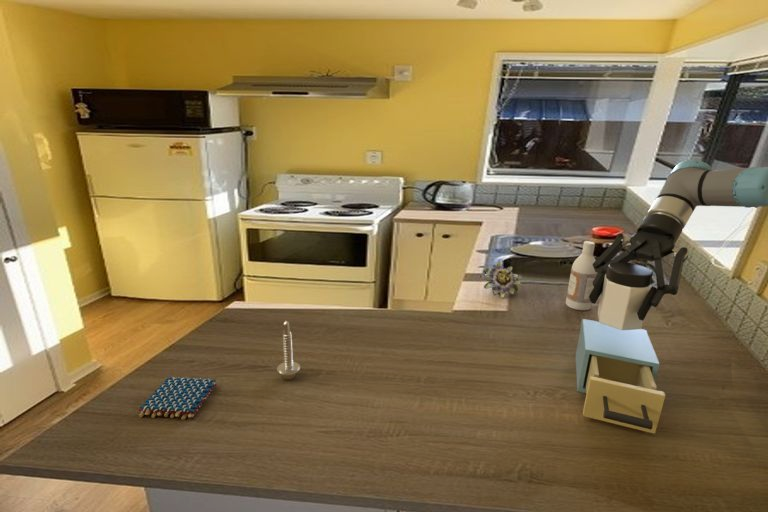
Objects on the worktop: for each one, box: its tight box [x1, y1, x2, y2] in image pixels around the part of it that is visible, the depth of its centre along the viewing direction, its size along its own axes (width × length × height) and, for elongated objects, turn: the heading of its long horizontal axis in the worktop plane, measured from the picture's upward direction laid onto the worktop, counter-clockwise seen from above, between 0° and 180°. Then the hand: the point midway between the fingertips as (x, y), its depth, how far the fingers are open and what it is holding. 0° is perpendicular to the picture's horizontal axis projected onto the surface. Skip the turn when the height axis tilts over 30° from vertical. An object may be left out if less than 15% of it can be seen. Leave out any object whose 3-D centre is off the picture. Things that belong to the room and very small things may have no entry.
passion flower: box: [482, 261, 522, 299], centre depth 135 cm, size 11×11×12 cm
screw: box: [276, 320, 302, 381], centre depth 87 cm, size 13×5×5 cm
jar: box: [596, 262, 654, 330], centre depth 88 cm, size 9×8×12 cm
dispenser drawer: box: [582, 354, 666, 435], centre depth 79 cm, size 19×12×8 cm, turn 158°
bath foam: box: [565, 240, 598, 311], centre depth 124 cm, size 7×7×20 cm
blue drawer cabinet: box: [574, 318, 661, 394], centre depth 90 cm, size 15×13×10 cm
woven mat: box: [138, 376, 218, 421], centre depth 81 cm, size 10×11×2 cm
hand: (614, 308), depth 87 cm, fingers closed on jar, 9 cm apart
